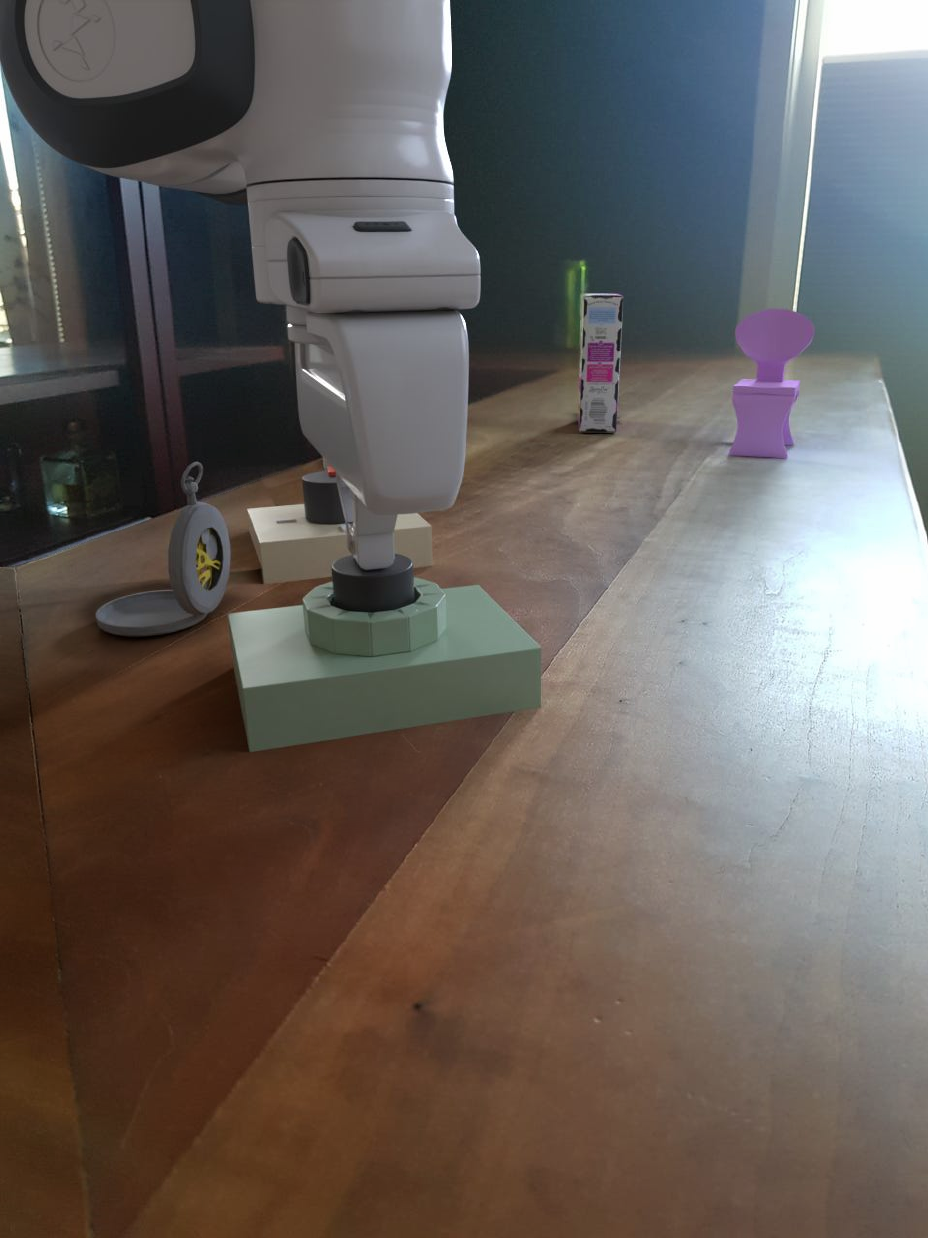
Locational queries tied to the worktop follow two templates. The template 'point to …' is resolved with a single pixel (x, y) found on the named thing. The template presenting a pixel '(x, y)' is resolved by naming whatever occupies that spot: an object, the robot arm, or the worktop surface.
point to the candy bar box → (599, 362)
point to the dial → (322, 498)
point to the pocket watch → (179, 575)
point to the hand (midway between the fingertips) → (370, 560)
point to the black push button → (372, 585)
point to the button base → (379, 665)
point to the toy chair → (768, 381)
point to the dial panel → (321, 543)
